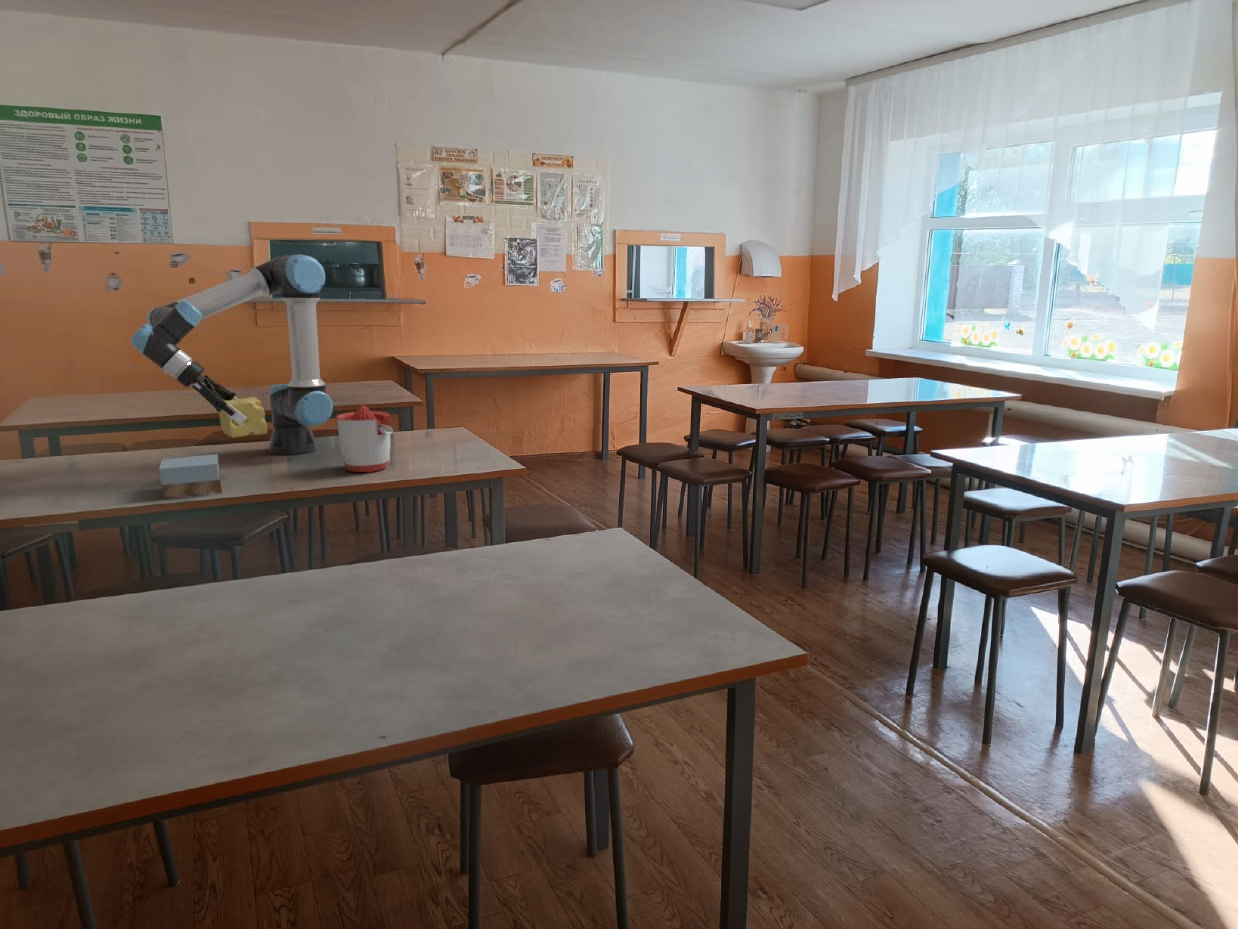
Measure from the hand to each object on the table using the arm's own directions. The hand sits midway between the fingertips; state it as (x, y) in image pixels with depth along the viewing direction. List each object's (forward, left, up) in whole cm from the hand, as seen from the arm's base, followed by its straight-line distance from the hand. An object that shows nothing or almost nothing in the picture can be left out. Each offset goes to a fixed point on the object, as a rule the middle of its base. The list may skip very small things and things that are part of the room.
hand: (246, 417), depth 252 cm
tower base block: (+16, +15, -18) cm, 28 cm away
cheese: (+1, 0, -5) cm, 5 cm away
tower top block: (+16, +15, -13) cm, 26 cm away
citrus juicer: (-33, +9, -17) cm, 38 cm away
